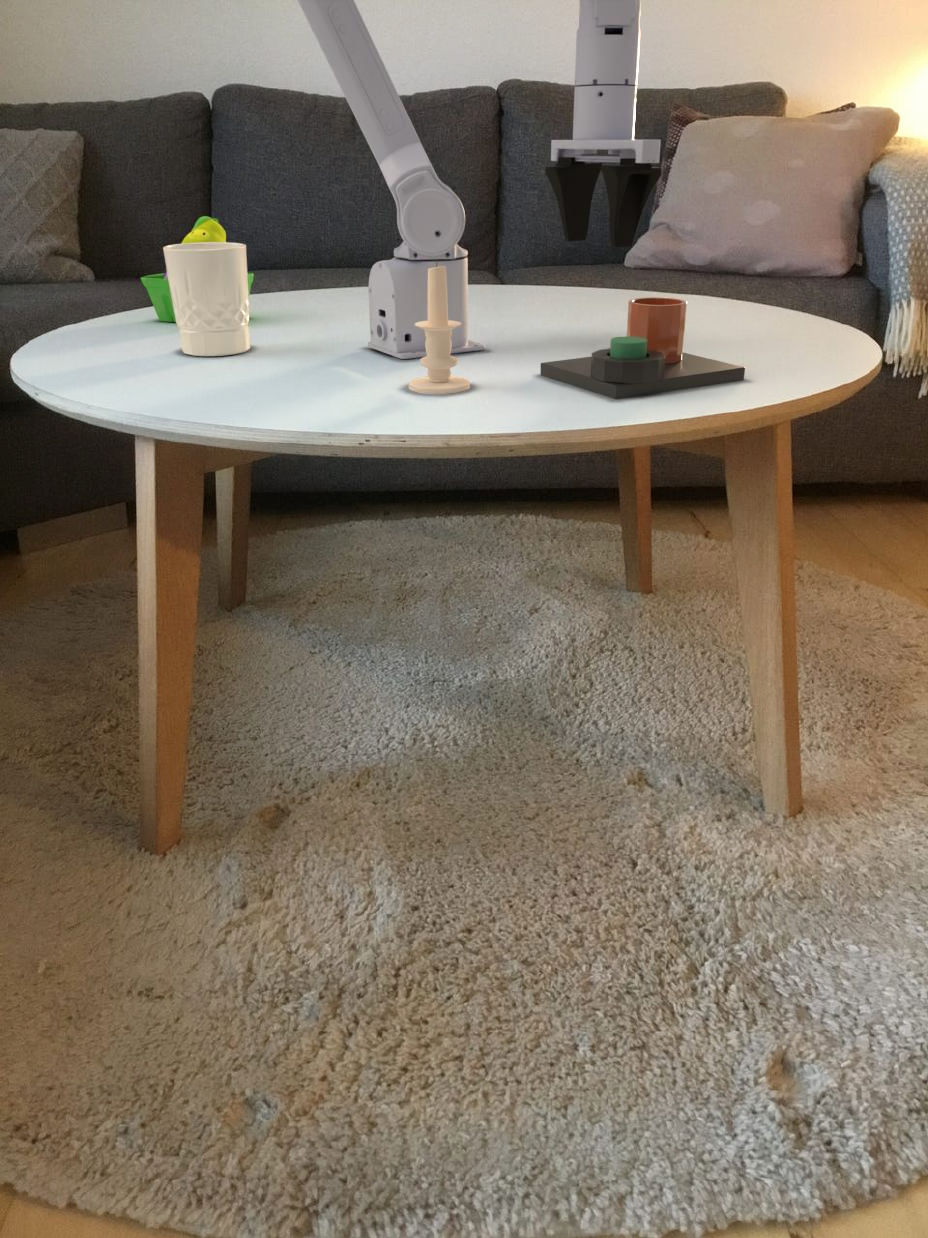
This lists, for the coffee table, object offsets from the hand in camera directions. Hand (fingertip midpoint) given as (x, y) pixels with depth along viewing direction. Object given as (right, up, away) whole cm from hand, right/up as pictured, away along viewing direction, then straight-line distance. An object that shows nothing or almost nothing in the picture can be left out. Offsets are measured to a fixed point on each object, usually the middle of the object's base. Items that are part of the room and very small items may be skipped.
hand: (598, 243), depth 99 cm
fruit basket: (-44, -1, +22) cm, 49 cm away
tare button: (+1, -15, -15) cm, 21 cm away
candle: (-15, -17, -13) cm, 26 cm away
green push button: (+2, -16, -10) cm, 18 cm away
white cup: (-38, -10, +4) cm, 40 cm away
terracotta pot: (+4, -13, -8) cm, 16 cm away
